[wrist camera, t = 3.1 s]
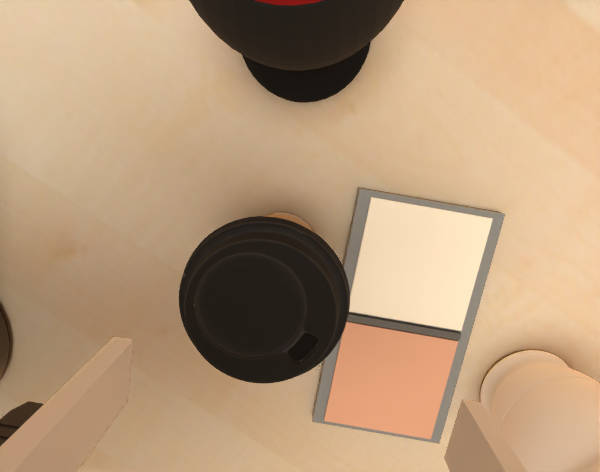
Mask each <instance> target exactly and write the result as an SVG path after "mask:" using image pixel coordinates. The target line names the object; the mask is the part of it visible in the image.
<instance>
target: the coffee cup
mask: <svg viewBox="0 0 600 472" xmlns="http://www.w3.org/2000/svg"><path fill="white" fill-rule="evenodd" d="M179 307H180V314H181V318H182V321H183V325H184V327H185V330H186V332H187V334H188V336H189V338H190V339H191V341H192V342H193V344H194V345H195V347H196V348H197V350H198V351H199V352H200V354H201V355H202V356H203V357H204V358H205V359H206V360H207V361H208V362H209V363H210V364H211V365H213V366H214V367H215V368H216V369H218V370H220V371H221V372H223V373H225V374H227V375H229V376H231V377H233V378H236V379H239V380H243V381H246V382H252V383H274V382H280V381H284V380H288V379H291V378H293V377H296V376H299V375H301V374H303V373H305V372H307V371H309V370H311V369H312V368H314V367H315V366H317V365H318V364H319V363H321V362H322V361H323V360H324V359H325V358H326V357H327V356H328V355H329V354H330V353H331V352H332V351H333V349H334V348H335V346H336V345H337V343H338V342H339V340H340V338H341V336H342V334H343V331H344V329H345V326H346V322H347V318H348V315H349V308H350V290H349V284H348V279H347V276H346V273H345V270H344V268H343V266H342V264H341V262H340V260H339V258H338V257H337V255H336V254H335V252H334V251H333V250H332V249H331V247H330V246H329V245H328V244H327V243H326V242H325V241H324V240H323V239H322V238H321V237H319V236H318V235H317V234H316V233H315V232H314V231H313V230H312V228H311V227H310V226H309V225H308V224H307V223H306V222H305V221H304V220H303V219H301V218H300V217H298V216H296V215H293V214H290V213H286V212H278V213H274V214H270V215H266V216H258V217H249V218H244V219H240V220H236V221H233V222H231V223H228V224H226V225H224V226H222V227H220V228H219V229H217V230H215V231H214V232H212V233H211V234H210V235H208V236H207V237H206V238H205V239H204V240H203V241H202V242H201V243H200V244H199V245H198V247H197V248H196V249H195V251H194V252H193V254H192V255H191V257H190V259H189V261H188V263H187V265H186V268H185V270H184V273H183V276H182V280H181V284H180V290H179Z"/></svg>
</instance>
